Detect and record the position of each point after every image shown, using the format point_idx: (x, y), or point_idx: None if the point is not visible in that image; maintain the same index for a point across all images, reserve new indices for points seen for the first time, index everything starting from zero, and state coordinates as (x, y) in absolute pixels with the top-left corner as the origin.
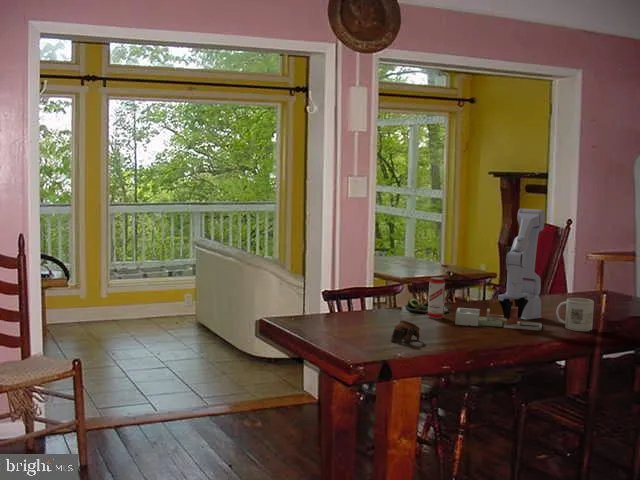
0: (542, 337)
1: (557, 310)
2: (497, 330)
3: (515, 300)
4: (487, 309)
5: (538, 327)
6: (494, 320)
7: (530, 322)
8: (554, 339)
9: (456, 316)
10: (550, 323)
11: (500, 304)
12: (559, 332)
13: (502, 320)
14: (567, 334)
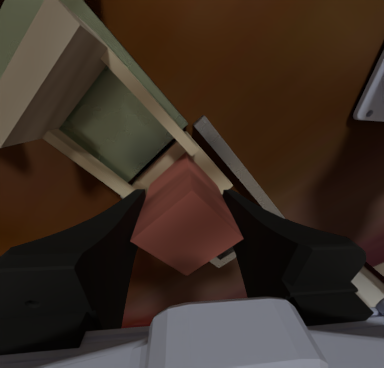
0: (151, 301)
1: (359, 297)
2: (66, 214)
3: (283, 252)
4: (20, 54)
5: (214, 261)
6: (93, 149)
7: (266, 204)
8: None
9: None
10: (344, 206)
11: (56, 236)
12: (238, 283)
13: (140, 168)
14: (234, 297)
